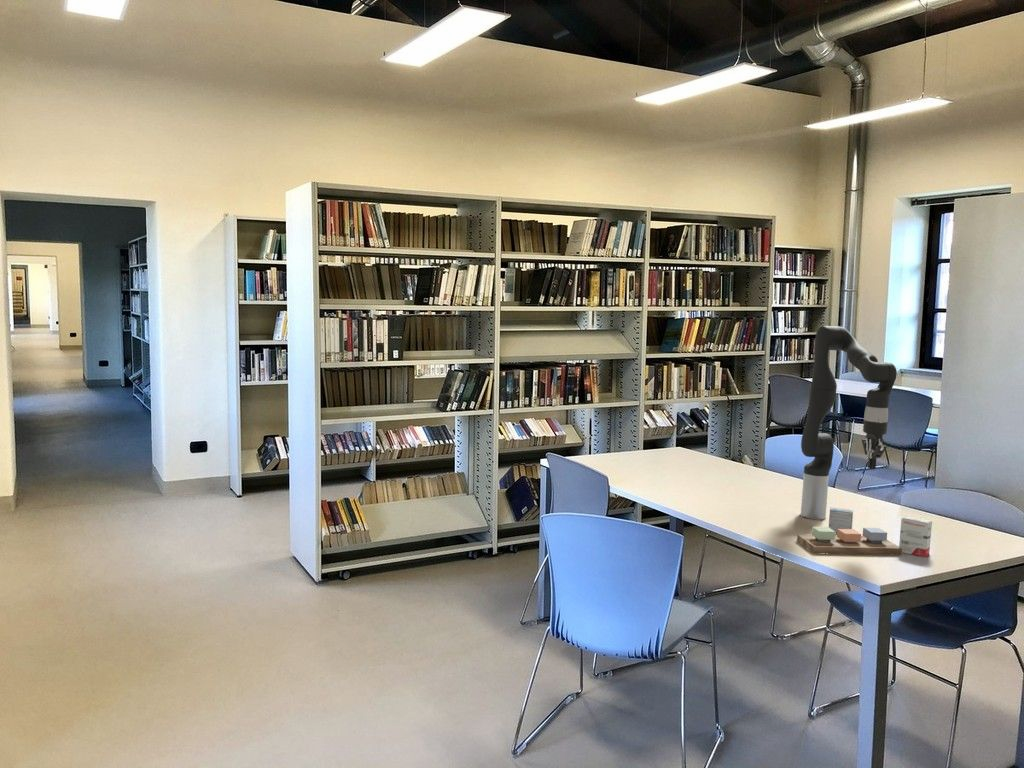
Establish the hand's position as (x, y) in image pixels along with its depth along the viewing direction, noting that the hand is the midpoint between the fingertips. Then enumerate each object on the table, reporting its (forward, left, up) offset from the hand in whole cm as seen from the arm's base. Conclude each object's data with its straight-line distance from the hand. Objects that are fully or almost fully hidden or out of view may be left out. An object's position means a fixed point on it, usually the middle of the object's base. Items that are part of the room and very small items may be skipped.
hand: (871, 468), depth 276 cm
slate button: (+7, -1, -23) cm, 24 cm away
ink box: (+11, +11, -27) cm, 31 cm away
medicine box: (-12, -4, -27) cm, 30 cm away
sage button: (+7, -19, -23) cm, 30 cm away
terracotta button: (+7, -10, -23) cm, 26 cm away
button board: (+7, -10, -27) cm, 29 cm away
